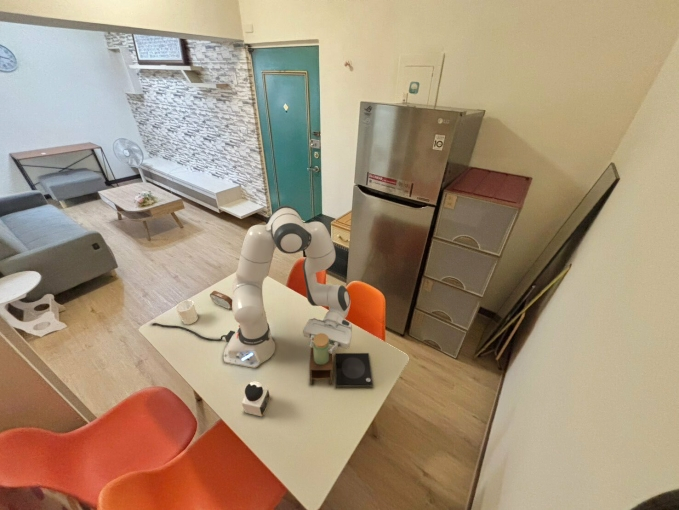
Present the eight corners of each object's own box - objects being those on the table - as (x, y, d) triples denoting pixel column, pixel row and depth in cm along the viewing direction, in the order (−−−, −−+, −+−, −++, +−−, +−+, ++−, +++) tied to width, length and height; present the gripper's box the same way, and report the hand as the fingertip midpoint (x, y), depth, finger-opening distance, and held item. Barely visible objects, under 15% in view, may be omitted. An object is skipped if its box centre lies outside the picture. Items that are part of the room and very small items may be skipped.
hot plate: (335, 388, 108) (335, 384, 106) (335, 355, 120) (335, 351, 118) (372, 387, 108) (373, 383, 106) (368, 355, 121) (368, 351, 119)
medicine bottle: (262, 417, 98) (258, 400, 91) (244, 412, 99) (238, 395, 92) (270, 398, 103) (266, 380, 97) (253, 394, 104) (248, 376, 98)
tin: (236, 308, 142) (233, 296, 137) (231, 312, 140) (228, 300, 135) (215, 299, 147) (212, 288, 142) (211, 303, 145) (207, 291, 140)
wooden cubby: (310, 384, 108) (309, 369, 102) (311, 362, 117) (311, 347, 111) (332, 384, 109) (332, 368, 103) (332, 362, 117) (332, 347, 111)
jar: (313, 364, 104) (312, 346, 97) (313, 350, 109) (313, 332, 103) (329, 364, 104) (329, 346, 98) (329, 350, 109) (329, 332, 103)
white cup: (202, 318, 136) (197, 303, 130) (187, 327, 130) (181, 313, 125) (193, 311, 139) (187, 297, 134) (178, 321, 134) (172, 306, 128)
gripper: (310, 312, 114) (295, 336, 103) (355, 325, 109) (345, 352, 98) (310, 322, 118) (296, 347, 107) (354, 335, 113) (344, 362, 102)
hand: (320, 349), depth 102 cm, fingers closed on jar, 6 cm apart
